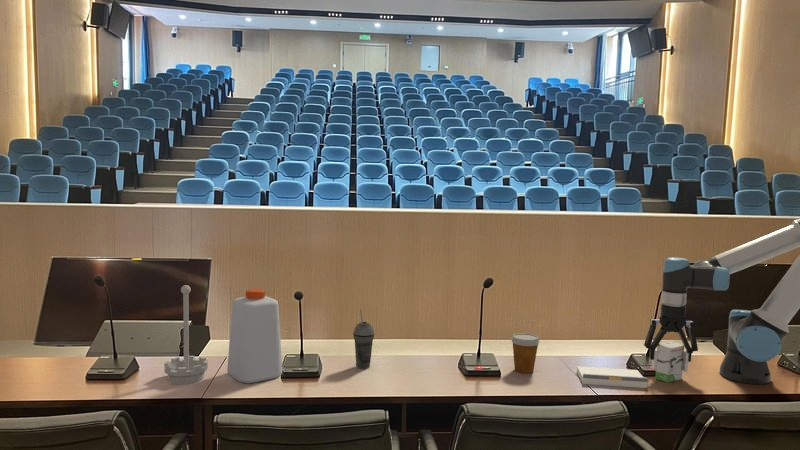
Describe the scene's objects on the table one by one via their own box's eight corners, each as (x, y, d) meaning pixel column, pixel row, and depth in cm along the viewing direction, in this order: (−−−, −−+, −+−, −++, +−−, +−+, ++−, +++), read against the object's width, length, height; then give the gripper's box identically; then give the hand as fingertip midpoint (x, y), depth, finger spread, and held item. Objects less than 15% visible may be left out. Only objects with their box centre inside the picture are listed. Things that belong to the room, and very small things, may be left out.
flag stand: (212, 381, 188) (212, 287, 186) (168, 388, 182) (167, 290, 179) (202, 369, 199) (202, 280, 197) (161, 375, 193) (160, 283, 190)
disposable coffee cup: (542, 369, 208) (543, 335, 207) (532, 377, 200) (534, 341, 199) (516, 364, 213) (517, 331, 212) (505, 371, 205) (507, 337, 204)
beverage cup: (373, 370, 202) (374, 312, 201) (351, 370, 202) (352, 311, 201) (374, 363, 210) (375, 307, 208) (353, 363, 210) (354, 306, 208)
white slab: (637, 375, 204) (637, 366, 204) (647, 388, 192) (647, 378, 192) (576, 372, 206) (577, 362, 206) (583, 384, 194) (583, 374, 194)
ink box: (668, 383, 197) (670, 348, 196) (654, 378, 201) (656, 344, 200) (683, 378, 202) (685, 344, 201) (669, 374, 206) (671, 340, 205)
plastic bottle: (222, 373, 196) (222, 289, 193) (264, 364, 206) (265, 284, 203) (244, 386, 184) (244, 297, 182) (287, 376, 194) (288, 291, 192)
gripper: (703, 303, 202) (699, 368, 204) (636, 300, 204) (632, 364, 206) (712, 308, 194) (707, 375, 196) (642, 304, 197) (638, 371, 199)
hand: (669, 369), depth 201 cm, fingers closed on ink box, 9 cm apart
